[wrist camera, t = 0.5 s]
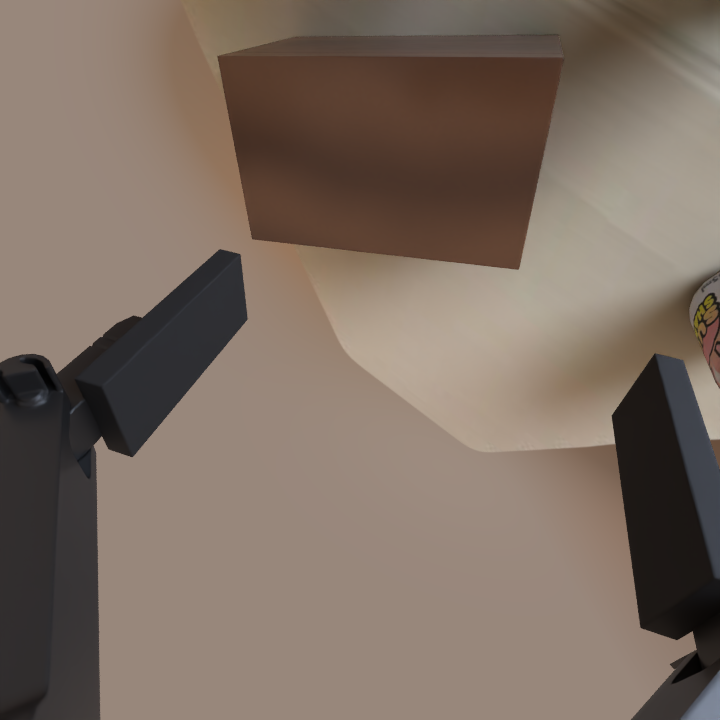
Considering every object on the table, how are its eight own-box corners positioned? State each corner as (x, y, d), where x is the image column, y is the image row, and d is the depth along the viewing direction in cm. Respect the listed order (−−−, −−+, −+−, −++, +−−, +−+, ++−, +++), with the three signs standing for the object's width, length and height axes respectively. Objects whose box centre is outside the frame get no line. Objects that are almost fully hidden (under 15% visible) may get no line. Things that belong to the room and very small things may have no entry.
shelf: (295, 36, 37) (217, 55, 28) (559, 34, 32) (564, 57, 23) (309, 187, 45) (251, 239, 36) (524, 204, 40) (518, 269, 31)
